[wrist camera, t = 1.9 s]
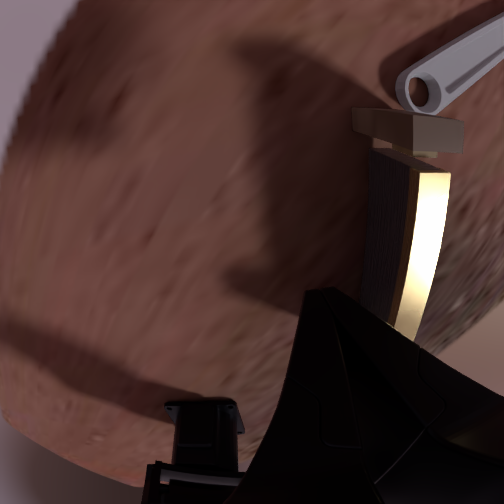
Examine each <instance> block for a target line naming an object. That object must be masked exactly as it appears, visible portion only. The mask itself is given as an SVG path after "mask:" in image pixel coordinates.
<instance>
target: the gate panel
mask: <svg viewBox="0 0 504 504" xmlns="http://www.w3.org/2000/svg"><path fill="white" fill-rule="evenodd" d="M450 175H451V173H450V172H447V171H445V170H443V169H441V168H436V167H434V166H432V165H430V164H427V163H425V162H423V161H420V160H418V159H416V158H413V157H411V156H408V155H406V154H404V153H401V152H399V151H396V150H393V149H391V148H369V190H368V214H367V231H366V244H365V255H364V266H363V275H362V283H361V292H360V299H359V304H360V305H361V306H363V307H364V308H366V309H367V310H369V311H370V312H372V313H373V314H375V315H376V316H377V317H379V318H380V319H382V320H383V321H385V322H386V323H387V324H389V325H390V326H392V327H393V328H395V329H396V330H398V331H399V332H400V333H402V334H403V335H405V336H406V337H407V338H409V339H410V340H412V341H414V338H415V335H416V333H417V330H418V327H419V324H420V321H421V318H422V314H423V311H424V308H425V305H426V301H427V298H428V294H429V291H430V287H431V283H432V279H433V275H434V271H435V267H436V263H437V259H438V254H439V249H440V244H441V239H442V234H443V228H444V222H445V216H446V210H447V202H448V194H449V186H450Z"/></svg>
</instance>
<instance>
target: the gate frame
mask: <svg viewBox="0 0 504 504" xmlns="http://www.w3.org/2000/svg"><path fill="white" fill-rule="evenodd" d="M351 110H352V128H353V131H355V132H358V133H362V134H365V135H368V136H371V137H374V138H377V139H381V140H384V141H387V142H389V143H392V149H394V150H397V151H399V152H402V153H404V154H407V155H409V156H411V157H433V158H437V152H449V153H463V140H464V121H460V120H455V119H451V118H446V117H441V116H435V115H430V114H424V113H418V112H411V111H404V110H397V109H384V108H360V107H351Z"/></svg>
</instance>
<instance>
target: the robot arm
mask: <svg viewBox="0 0 504 504" xmlns="http://www.w3.org/2000/svg"><path fill="white" fill-rule="evenodd" d="M164 409H165V410H166V412H167V413H168V415H169V416H170V418H171V419H172V421H173V422H174V423H175V433H174V442H173V452H172V462H171V464H167V463H162V461H157V460H156V461H155V464H147V470H146V478H145V484H144V490H143V496H142V501H141V504H504V397H503V396H501V395H499V394H497V393H495V392H493V391H491V390H490V389H488V388H486V387H484V386H483V385H481V384H479V383H477V382H476V381H474V380H472V379H470V378H469V377H467V376H465V375H463V374H462V373H460V372H458V371H457V370H455V369H453V368H452V367H450V366H448V365H447V364H445V363H443V362H442V361H441V360H439V359H438V358H436V357H435V356H433V355H432V354H430V353H429V352H427V351H426V350H425V349H423V348H420V346H419V345H417V344H416V343H415V342H413V341H412V340H410V339H409V338H407V337H406V336H405V335H403V334H402V333H400V332H399V331H398V330H396V329H395V328H393V327H392V326H390V325H389V324H387V323H386V322H385V321H383V320H382V319H380V318H379V317H377V316H376V315H375V314H373V313H372V312H370V311H369V310H367V309H366V308H364V307H363V306H361V305H360V304H359V303H357V302H356V301H354V300H353V299H351V298H350V297H348V296H347V295H345V294H344V293H343V292H341V291H340V290H338V289H337V288H335V287H325V288H321V289H320V290H319V289H311V290H306V291H305V292H304V296H303V301H302V306H301V310H300V315H299V320H298V325H297V329H296V334H295V338H294V343H293V347H292V351H291V356H290V360H289V364H288V368H287V373H286V378H285V380H284V384H283V388H282V392H281V395H280V398H279V401H278V405H277V408H276V410H275V413H274V415H273V418H272V420H271V422H270V425H269V427H268V429H267V431H266V433H265V435H264V438H263V440H262V442H261V444H260V446H259V448H258V450H257V452H256V454H255V456H254V458H253V460H252V462H251V464H250V466H249V467H248V470H247V471H246V472H238V441H237V435H240V434H244V433H245V428H244V425H243V422H242V419H241V416H240V413H239V410H238V407H237V403H236V402H235V401H214V402H167V403H165V404H164ZM160 481H166V482H169V485H166V484H161V483H160Z"/></svg>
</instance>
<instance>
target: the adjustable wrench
mask: <svg viewBox="0 0 504 504" xmlns="http://www.w3.org/2000/svg"><path fill="white" fill-rule="evenodd" d="M502 59H504V12H503V13H501V14H499V15H497V16H495V17H493V18H491V19H489V20H487V21H485V22H484V23H482V24H480V25H478V26H476V27H474V28H473V29H471V30H469V31H467V32H466V33H464V34H462V35H460V36H459V37H457V38H455V39H454V40H452V41H450V42H448V43H447V44H445V45H443V46H442V47H440V48H439V49H437V50H435V51H434V52H432V53H430V54H429V55H427V56H426V57H424V58H422V59H421V60H419V61H418V62H416V63H415V64H413V65H411V66H410V67H408V68H407V69H405V70H404V71H402V72H401V73H400V74H399V76H398V78H397V80H396V85H395V91H396V96H397V98H398V101H399V103H400V104H401V106H402V107H403V108H404V109H405V110H406V111H411V112H418V113H424V114H430V115H436V114H437V113H439V112H440V111H441V110H442V109H443V108H445V107H446V106H447V105H448V104H450V103H451V102H452V101H453V100H454V99H456V98H457V97H458V96H459V95H460V94H462V93H463V92H464V91H465V90H466V89H468V88H469V87H470V86H471V85H472V84H474V83H475V82H476V81H477V80H478V79H480V78H481V77H482V76H483V75H484V74H486V73H487V72H488V71H489V70H490V69H492V68H493V67H494V66H495V65H496V64H498V63H499V62H500V61H501V60H502ZM413 77H419V78H421V79H422V80H423V81H424V82H425V83H426V85H427V88H428V92H429V97H428V101H427V103H426V105H425V106H423V107H418V106H415V105H414V104H413V103H412V101H411V99H410V97H409V91H408V86H409V81H410V79H411V78H413Z"/></svg>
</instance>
